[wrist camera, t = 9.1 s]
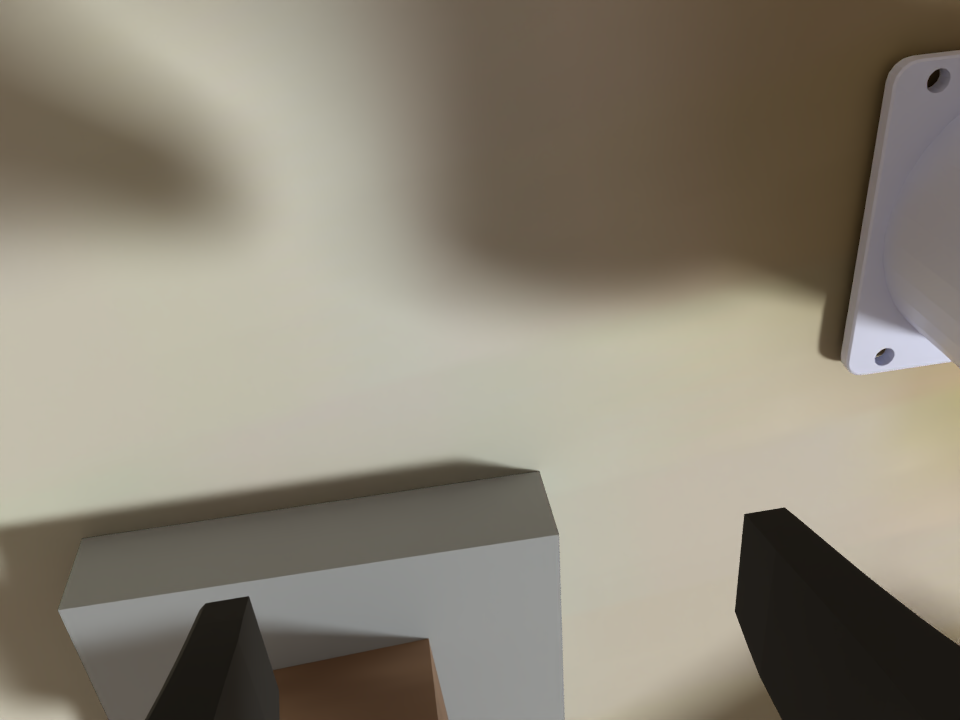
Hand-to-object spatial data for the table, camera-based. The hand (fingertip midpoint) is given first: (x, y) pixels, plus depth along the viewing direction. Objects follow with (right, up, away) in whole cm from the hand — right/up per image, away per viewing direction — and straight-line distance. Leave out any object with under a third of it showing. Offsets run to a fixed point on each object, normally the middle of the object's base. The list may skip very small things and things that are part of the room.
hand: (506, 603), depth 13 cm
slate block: (-4, -5, +14) cm, 16 cm away
